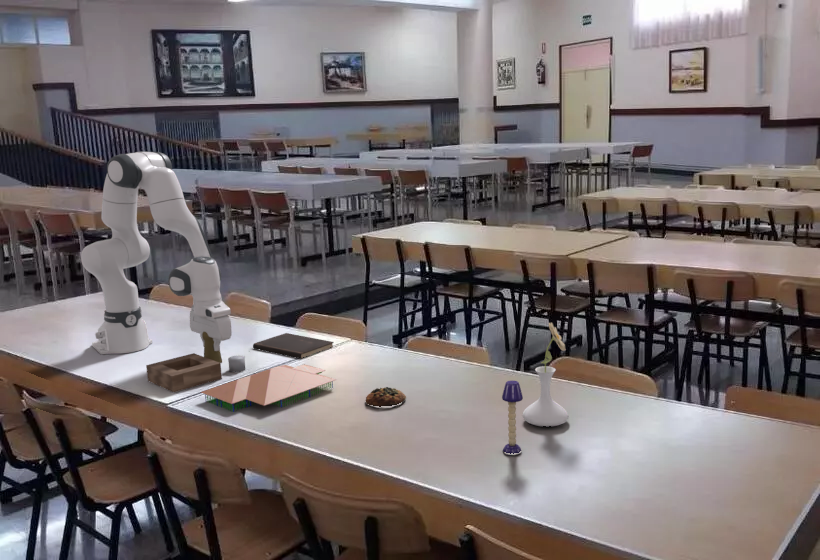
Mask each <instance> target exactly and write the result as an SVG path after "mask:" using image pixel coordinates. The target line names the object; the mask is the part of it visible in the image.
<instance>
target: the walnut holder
mask: <svg viewBox="0 0 820 560" xmlns="http://www.w3.org/2000/svg"><path fill="white" fill-rule="evenodd" d="M221 364H222V363H219V362H216V361H214V360H211V359H208V358H205V357H204V355H203V356H202V355H199V354H197V353H195V352H194V353H189V354H185V355H182V356H178V357H173V358H170V359H166V360H162V361H159V362H158V361H157V362H154V363H149V364H146V375H147V376H146V377H147V382H149V381H150V383H151V382H152V384H153V383H154V384H153V385H156V386H158V387H160V386H161V387H160V388H162V387H163V389H164V388H165V389H164V390H167V391H169V392H171V393H173V392H174V393H177V392H180V391H184V390H187V389H190V388H194V387H197V386H201V385H205V384H209V383H212V382H216V381H219V380H222V379H223V376H222V375H223V374H222V365H221Z"/></svg>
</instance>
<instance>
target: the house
mask: <svg viewBox="0 0 820 560" xmlns="http://www.w3.org/2000/svg"><path fill="white" fill-rule="evenodd" d="M323 372H326V369H323V368H320V367H315V366H311V365H308V364H306V363H303V364H300V365H297V366H292V365H287V364H282V365H278V366H275V367H272V368H269V369H265V370H262V371H259V372H256V373H254V374H250V375H248V376H245V377H241V378H238V379H235V380H232V381H229V382H227V383H223V384H221V385H217V386H215V387H211V388H208V389H206V390H202V391H200V393H202V394H204V396H205V399H206V401H208V404H213V405H214V406H217V407H219V406H220V408H222V409H227V410H228V411H230V410H231V411H232V412H233V413H234V412H235V409H234V408H238V410H240V406H242V405H243V406H242V407H243V409H244V408H245V409H246V408H248V407H250V406H252V403H255V405H256V404H257V405H261V406H263V407H265V406H268V405H272V404H273V405H274V404H275V403H276V404H278V406H280V408H281V407H282V408H283V404H285V405H286V406H285V407H287V406H288V404H290V402H291V399H290V400H289V398H292V397H294V400H295V403H297V399H299V398H301V397H302V399H303V398H304V399H306V396H307V395H308V398H309V397H310V398H311V394H313V396H314V395H315V394H317V395H318V394H320V392H319V391H322V390H324V389H327V388H328V387H329V389H330V388H331V389H332V388H333V389H334V386H333V385H334V384H333V382H335V381H337V379H336V378H332V377H329V376H325V375H322V373H323ZM321 386H322V387H321ZM319 387H320V389H319ZM314 389H315V390H314ZM311 390H313V391H311ZM317 391H318V392H317ZM315 392H316V393H315ZM302 394H303V395H302ZM296 396H297V397H296ZM303 396H304V397H303ZM315 396H316V395H315ZM286 399H287V400H286ZM304 399H303V400H304ZM282 400H285V401H283V402H282ZM294 400H292V404H293V403H294ZM219 402H220V403H219ZM234 404H237V405H235V406H234ZM245 405H246V406H245Z"/></svg>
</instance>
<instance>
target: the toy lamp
mask: <svg viewBox="0 0 820 560" xmlns="http://www.w3.org/2000/svg"><path fill="white" fill-rule="evenodd" d="M501 399H502V401H504V402H507V404H508V406H507V411H508V415H507V416H508V417H507V418H508V419H507V422H508V423H507V424H508V427H507V429H508V443H507V444H505V445H504V446H503V450H502V452H503V451H504V452H506V453H510V454H511V453H513V454H514V453H519V452H520V451H522V448H521V446H520V445H519V444H517V432H516V430H517V426H516V425H517V420H516V418H517V413H516V411H517V408H516V406H517V403H519V402H521V401H523V392H522V390H521V385H520V382H519V381H517V380H507V381H506V382H505V384H504V387H503V392H502V395H501Z"/></svg>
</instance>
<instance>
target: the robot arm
mask: <svg viewBox="0 0 820 560" xmlns="http://www.w3.org/2000/svg"><path fill="white" fill-rule="evenodd" d="M172 165H173V164H172V161H171V159H170V157H169V156H168V155H166V154H165V153H162V152H160V151H136V152H130V153H119V154H117V155H114V156H112V157H111V158H110V159H109V160H108V162H107V166H106V176H105V178H104V179H105V180H104V183H103V190H102V202H101V222H103V224H104V225H105V226H106V227H108V228H110V229H111V234H112V235H111V238H107V239H104V240H103V239H102V240H98V241H95V242H93V243H90V244H88V245H86V246H85V247H84V248H83V249H82V251H81V252H80V253H81V254H80V261H81V264H82V267H83V268H84V269H85V270H86V271H87V272H88V273H89V274H92V275H93V276H94V277H95V278H96V280H98V283H99V284H100V287H101V290H102V293H103V301H104V307H105V308H104V309H105V310H104V314H103V317H104V318H103V320H104V321H103V323H102V324H101V325H100V326H99V328H98V329H97V331H96V332H95V334H94V335H95V339H97V340H95V341H93V342H92V343H91V346H92V347H93V348H94V349H95V350H96V351H97V352H98V354H100V355H109V354H111V355H112V354H128V353H133V352H138V351H142V350H144V349H146V348H148V347H149V345H151V344H153V339H152V338H149V332H148V327H147V323H146V321H145V320H144V319H142V317H143V316H142V309H141V306H140V301H139V292H138V291H139V290H138V286H137V284H135V282H133V281H131V280H129V279H127V277H126V275H125V272H124V269H125V270H126V269H129V268H133V267H137V266H139V265H141V264H142V263H144V262H146V261H147V260H148V259H149V257H150V254H151V249H150V245H149V242H148V241H147V239H146V238H144V237H143V236H142V235H141V233H140V231H139V228H138V220H137V218H138V216H137V215H138V198H139V197H138V196H139V189H140V188H141V189H143V190H144V191H145V193H146V196H147V201H148V205H149V209H150V214H151V216H152V218H153V221H154V222H155V223H156V224H157V225H158V226H159V227H161V228H162V229H165V230H167V231H171V232H175V233H177V234H180V235H182V236H183V237H184V238H185V239H186V240H187V242H188V245H189V247H190V250H191V252H192V256H193V258H191V260H190V261H189V262H187V263H186V264H183V265H181V266H178V267H176V268H173V269H171V271H170V272H169V274H168V278H167V279H168V280H167V281H168V286H169V289H170V290H171V291H170V292H172V293H173V294H174V295H176V296H178V297H187V296H192V299H193V300H192V303H193V304H192V305H191V308H190V309H191V310H190V312H189V328H190V330H191V332H193V333H196V334H199V336H200V339H201V341H202V344H203V347H204V339H203V337H202V333H203V332H206V333H207V334H208V336H209V337H211V338H213V341H214V345H212V346H213V350H214V351H219V350H220V351H221V346H220V345H221V342H222V341H227V340H230V339H231V337H232V333H233V331H232V321H231V318H230V315H231V314H232V312H231V310H232V309H231V308H230V307H229V306H228V305H227V304H225V302H224V301H223V300H222V299H223V298H222V294H221V292H220V291H221V290H220V289H221V280H222V272H221V271H222V270H221V268H220V267H219V264H217V261H216V260H215V258H214V255H213V253H212V250H211V249H210V246H209V243H208V240H207V238H206V236H205V233H204V231H203V228H202V225H201V223H200V221H199V220H198V218H197V217H196V216H195V215H193V214H192V212H191V211H190V209H189V208H188V206H187V203H186V200H185V197H184V193H183V190H182V186H181V183H180V181H179V179H178V177H177V175H176V173H175V171H174V170H173V166H172Z"/></svg>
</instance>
